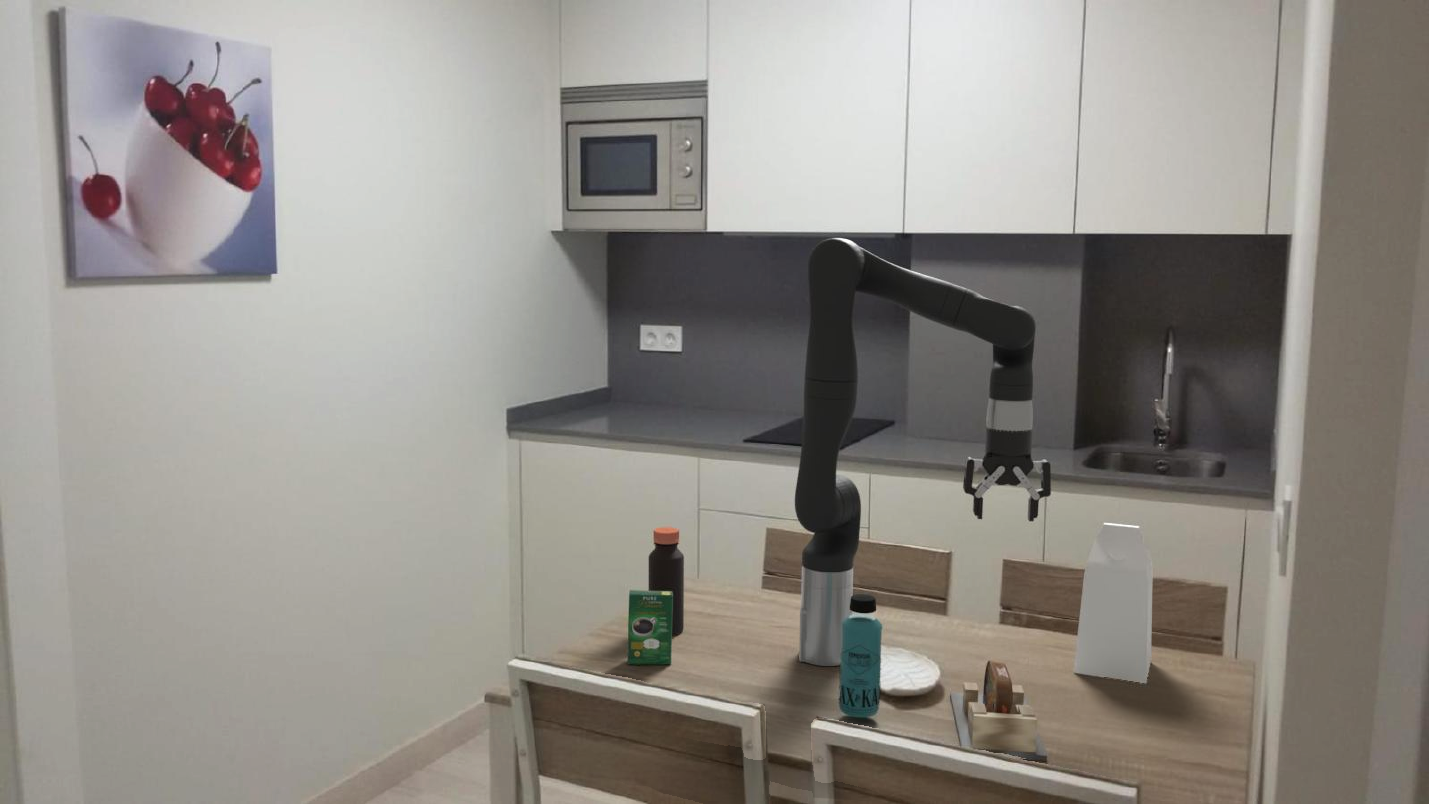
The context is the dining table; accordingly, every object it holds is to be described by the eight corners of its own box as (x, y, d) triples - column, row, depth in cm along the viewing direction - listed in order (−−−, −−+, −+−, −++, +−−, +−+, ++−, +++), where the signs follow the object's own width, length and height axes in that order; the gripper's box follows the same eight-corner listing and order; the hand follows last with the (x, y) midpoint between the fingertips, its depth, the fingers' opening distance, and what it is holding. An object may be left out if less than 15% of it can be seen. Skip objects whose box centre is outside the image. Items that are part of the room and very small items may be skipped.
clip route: (962, 755, 163) (964, 718, 163) (950, 696, 185) (951, 663, 184) (1046, 761, 162) (1048, 722, 161) (1024, 701, 183) (1025, 667, 183)
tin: (981, 702, 181) (983, 652, 180) (1001, 703, 180) (1003, 653, 179) (991, 741, 166) (993, 687, 165) (1012, 743, 166) (1015, 689, 165)
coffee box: (672, 659, 201) (673, 589, 199) (672, 665, 198) (673, 594, 196) (627, 659, 200) (627, 589, 199) (627, 665, 198) (627, 594, 196)
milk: (1150, 662, 202) (1159, 522, 198) (1146, 684, 191) (1155, 536, 188) (1081, 651, 207) (1089, 514, 203) (1073, 672, 196) (1081, 528, 193)
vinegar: (690, 629, 217) (690, 529, 214) (670, 639, 211) (670, 536, 209) (661, 622, 221) (662, 524, 218) (641, 632, 215) (641, 531, 212)
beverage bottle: (834, 710, 179) (837, 590, 176) (875, 709, 179) (878, 589, 177) (842, 728, 172) (845, 603, 170) (884, 726, 173) (888, 602, 170)
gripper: (968, 427, 185) (964, 523, 187) (1056, 430, 183) (1051, 526, 185) (964, 420, 192) (960, 512, 194) (1049, 423, 191) (1044, 516, 193)
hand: (1005, 519), depth 190 cm, fingers open, 8 cm apart
